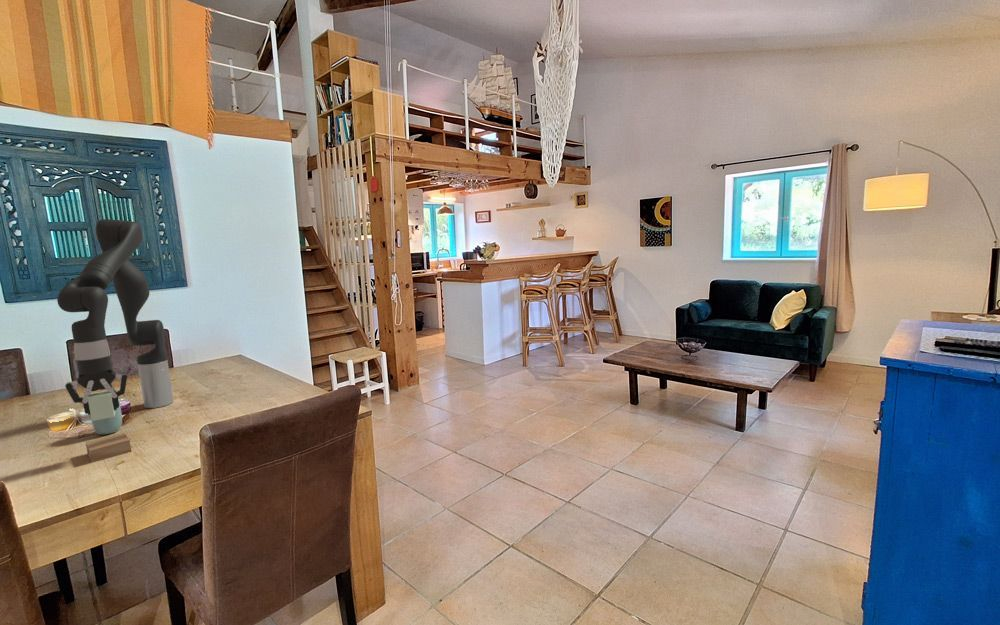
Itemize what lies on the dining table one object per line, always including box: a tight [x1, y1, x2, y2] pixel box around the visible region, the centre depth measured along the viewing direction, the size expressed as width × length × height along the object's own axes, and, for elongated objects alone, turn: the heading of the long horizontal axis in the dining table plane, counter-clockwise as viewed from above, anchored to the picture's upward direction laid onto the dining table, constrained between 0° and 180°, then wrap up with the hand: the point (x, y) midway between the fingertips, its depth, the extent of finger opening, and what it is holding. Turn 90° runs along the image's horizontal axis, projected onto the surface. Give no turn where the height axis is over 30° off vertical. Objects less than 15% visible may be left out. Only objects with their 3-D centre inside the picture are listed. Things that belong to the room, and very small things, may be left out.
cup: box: [89, 401, 123, 436], centre depth 150 cm, size 8×8×10 cm
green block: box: [88, 390, 115, 421], centre depth 133 cm, size 5×5×7 cm
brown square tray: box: [85, 432, 132, 463], centre depth 135 cm, size 9×9×4 cm
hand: (102, 411), depth 133 cm, fingers closed on green block, 5 cm apart
